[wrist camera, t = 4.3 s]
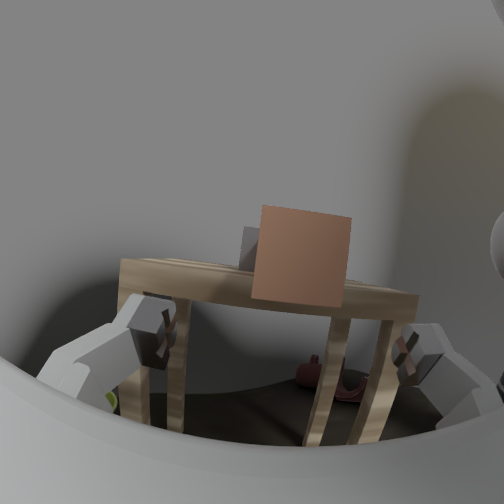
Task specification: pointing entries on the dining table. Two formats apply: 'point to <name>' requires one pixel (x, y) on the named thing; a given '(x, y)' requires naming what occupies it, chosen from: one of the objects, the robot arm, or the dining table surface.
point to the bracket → (311, 374)
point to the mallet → (297, 256)
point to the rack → (239, 294)
